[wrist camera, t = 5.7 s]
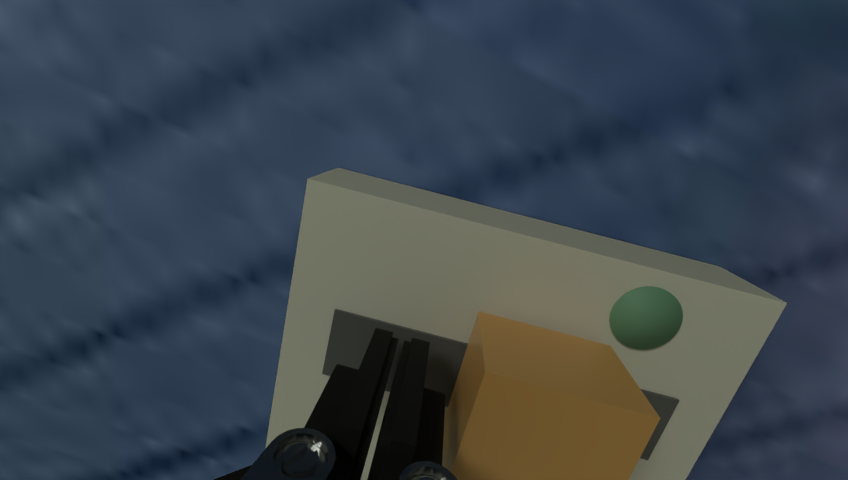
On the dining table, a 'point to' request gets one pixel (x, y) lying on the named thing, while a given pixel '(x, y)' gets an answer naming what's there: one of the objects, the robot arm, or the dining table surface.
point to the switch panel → (509, 304)
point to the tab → (543, 408)
